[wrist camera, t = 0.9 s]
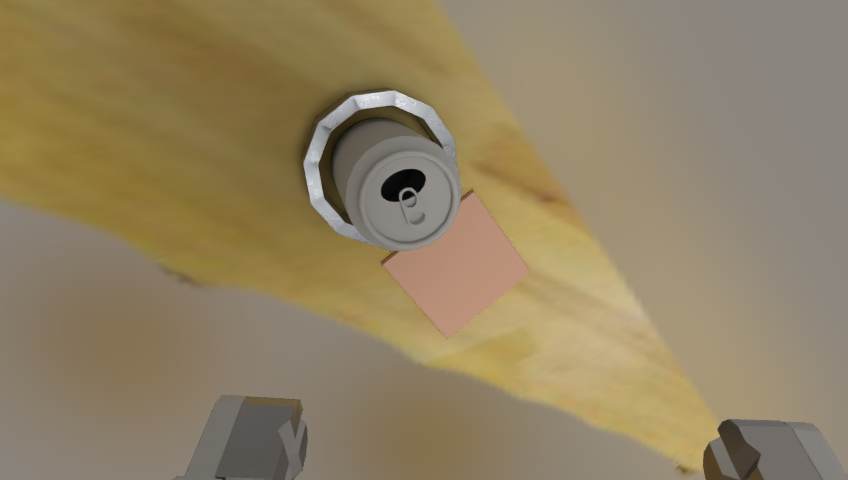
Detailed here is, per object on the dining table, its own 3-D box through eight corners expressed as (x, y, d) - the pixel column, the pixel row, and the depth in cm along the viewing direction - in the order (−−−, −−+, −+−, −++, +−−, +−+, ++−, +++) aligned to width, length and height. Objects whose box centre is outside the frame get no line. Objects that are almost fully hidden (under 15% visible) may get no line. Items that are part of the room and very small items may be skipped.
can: (403, 101, 41) (448, 119, 30) (434, 186, 44) (485, 231, 33) (314, 138, 40) (327, 170, 29) (352, 222, 43) (377, 280, 32)
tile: (381, 262, 45) (382, 264, 44) (471, 189, 45) (474, 191, 44) (445, 335, 49) (447, 338, 49) (528, 269, 49) (531, 271, 49)
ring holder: (272, 152, 40) (271, 160, 37) (390, 58, 40) (398, 58, 37) (365, 257, 44) (371, 271, 42) (470, 173, 44) (483, 181, 42)
